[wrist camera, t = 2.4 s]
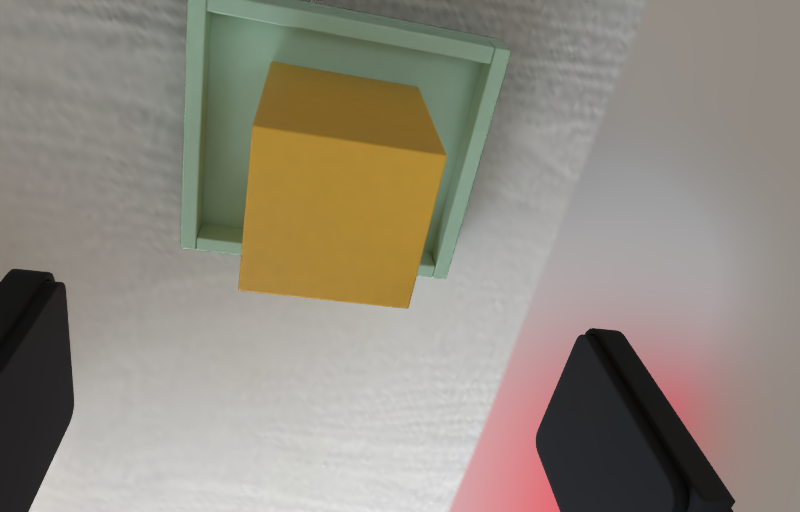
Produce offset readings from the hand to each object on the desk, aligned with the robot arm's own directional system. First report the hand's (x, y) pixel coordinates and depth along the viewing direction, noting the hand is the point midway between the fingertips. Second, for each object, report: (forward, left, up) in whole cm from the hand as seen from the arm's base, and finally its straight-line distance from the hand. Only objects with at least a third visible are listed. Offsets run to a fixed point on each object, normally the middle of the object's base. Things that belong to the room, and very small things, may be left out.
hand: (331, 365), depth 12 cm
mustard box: (0, 0, -10) cm, 10 cm away
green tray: (0, 0, -11) cm, 11 cm away
